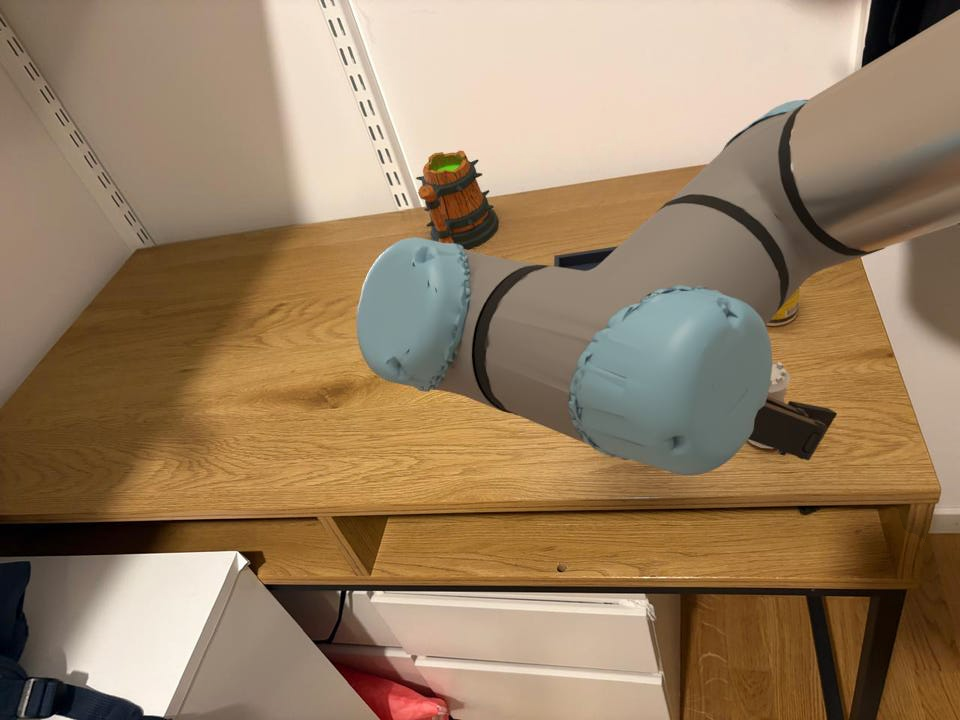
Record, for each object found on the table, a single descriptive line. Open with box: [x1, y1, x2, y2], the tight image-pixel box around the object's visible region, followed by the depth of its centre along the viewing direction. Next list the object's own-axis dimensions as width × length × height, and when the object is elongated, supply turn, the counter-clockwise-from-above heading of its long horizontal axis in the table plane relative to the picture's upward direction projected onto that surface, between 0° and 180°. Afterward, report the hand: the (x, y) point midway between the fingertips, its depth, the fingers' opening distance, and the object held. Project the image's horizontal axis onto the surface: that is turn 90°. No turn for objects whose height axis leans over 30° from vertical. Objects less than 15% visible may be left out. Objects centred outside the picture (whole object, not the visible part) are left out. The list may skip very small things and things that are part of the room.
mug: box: [415, 150, 500, 250], centre depth 98 cm, size 13×10×12 cm
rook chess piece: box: [747, 358, 791, 450], centre depth 64 cm, size 4×4×8 cm
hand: (751, 382), depth 61 cm, fingers open, 13 cm apart
